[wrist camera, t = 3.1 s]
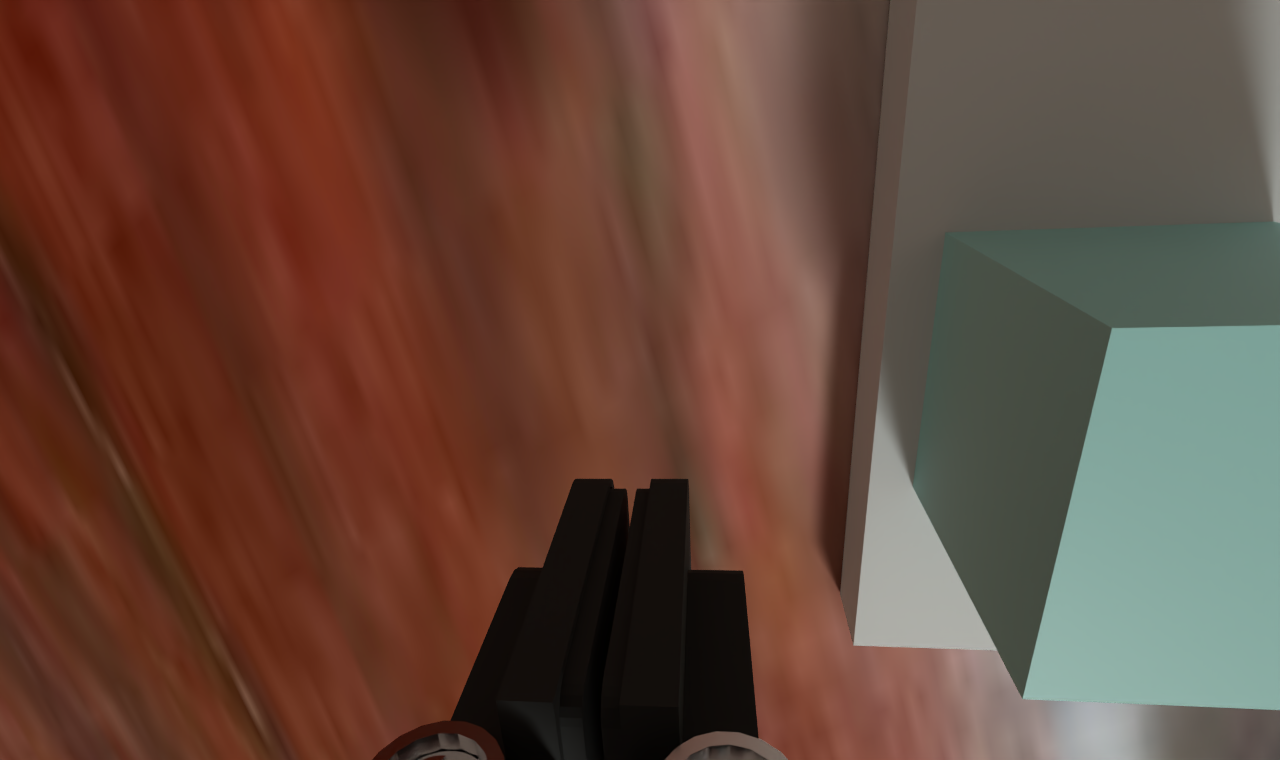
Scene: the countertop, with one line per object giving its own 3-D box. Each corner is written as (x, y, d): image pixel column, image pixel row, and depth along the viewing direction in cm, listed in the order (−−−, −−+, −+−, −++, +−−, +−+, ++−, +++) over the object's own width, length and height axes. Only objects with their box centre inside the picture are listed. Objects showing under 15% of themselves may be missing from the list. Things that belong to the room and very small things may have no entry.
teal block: (945, 232, 13) (1111, 328, 8) (1273, 221, 13) (1712, 317, 7) (912, 486, 16) (1022, 699, 10) (1187, 489, 15) (1465, 718, 9)
